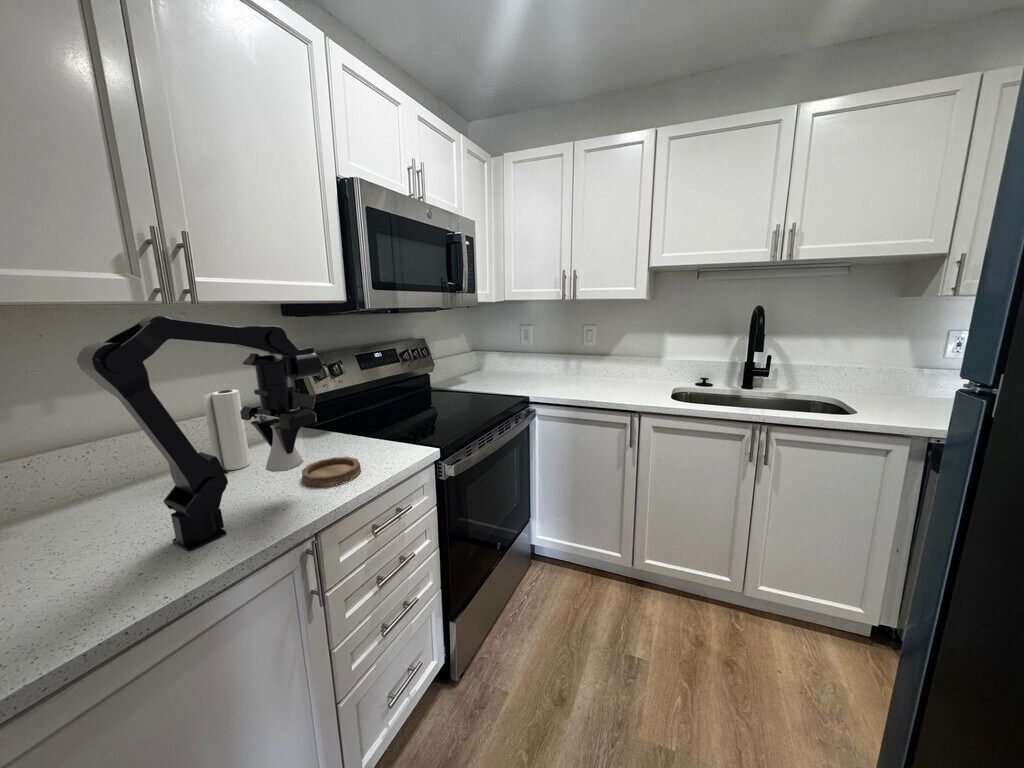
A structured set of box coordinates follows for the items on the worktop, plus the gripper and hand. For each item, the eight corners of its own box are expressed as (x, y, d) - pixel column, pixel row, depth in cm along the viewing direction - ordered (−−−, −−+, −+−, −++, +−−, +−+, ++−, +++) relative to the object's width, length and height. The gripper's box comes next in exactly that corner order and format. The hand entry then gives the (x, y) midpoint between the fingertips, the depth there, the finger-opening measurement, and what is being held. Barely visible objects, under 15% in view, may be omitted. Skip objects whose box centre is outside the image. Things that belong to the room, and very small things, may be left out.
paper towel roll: (253, 460, 116) (241, 388, 112) (247, 468, 111) (234, 392, 106) (224, 464, 114) (211, 390, 110) (216, 472, 108) (202, 394, 104)
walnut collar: (326, 491, 96) (325, 482, 95) (290, 480, 102) (288, 472, 102) (372, 470, 108) (371, 461, 107) (337, 461, 114) (336, 453, 114)
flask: (287, 474, 87) (281, 429, 85) (258, 472, 89) (251, 428, 87) (310, 461, 94) (304, 420, 92) (283, 459, 96) (277, 419, 94)
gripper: (333, 379, 90) (341, 446, 93) (282, 374, 99) (291, 435, 102) (286, 389, 81) (296, 463, 84) (234, 382, 89) (245, 449, 92)
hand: (283, 451), depth 91 cm, fingers closed on flask, 5 cm apart
